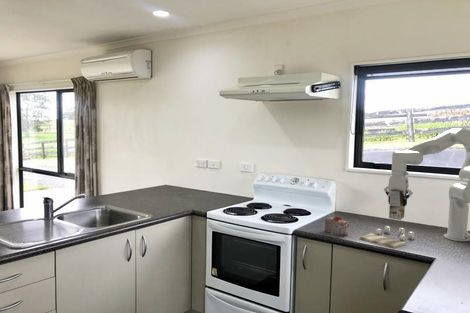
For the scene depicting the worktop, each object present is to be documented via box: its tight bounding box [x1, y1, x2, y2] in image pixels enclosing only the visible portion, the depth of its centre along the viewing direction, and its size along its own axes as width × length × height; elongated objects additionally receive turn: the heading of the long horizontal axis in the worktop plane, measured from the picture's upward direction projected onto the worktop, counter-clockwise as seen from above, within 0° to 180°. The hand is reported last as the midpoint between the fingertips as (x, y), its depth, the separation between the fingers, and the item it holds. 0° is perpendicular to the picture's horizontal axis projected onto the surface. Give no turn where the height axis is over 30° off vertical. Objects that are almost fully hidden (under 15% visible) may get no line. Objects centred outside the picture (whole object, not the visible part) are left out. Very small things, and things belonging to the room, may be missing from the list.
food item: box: [324, 216, 350, 237], centre depth 224 cm, size 14×8×10 cm, turn 40°
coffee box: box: [388, 190, 406, 221], centre depth 217 cm, size 9×6×16 cm
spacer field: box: [375, 225, 415, 243], centre depth 220 cm, size 17×16×4 cm
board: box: [359, 233, 407, 249], centre depth 211 cm, size 20×12×1 cm, turn 40°
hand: (397, 204), depth 217 cm, fingers closed on coffee box, 7 cm apart
